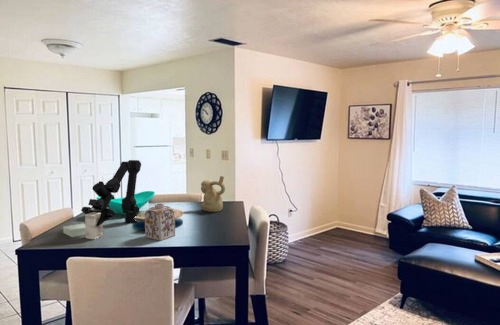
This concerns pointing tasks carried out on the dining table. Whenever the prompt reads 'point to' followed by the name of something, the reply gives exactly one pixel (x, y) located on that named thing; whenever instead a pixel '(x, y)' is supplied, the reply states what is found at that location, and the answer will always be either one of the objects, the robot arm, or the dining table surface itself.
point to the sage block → (75, 230)
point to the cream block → (93, 225)
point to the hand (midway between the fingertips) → (91, 225)
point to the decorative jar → (159, 222)
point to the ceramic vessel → (212, 195)
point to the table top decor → (139, 197)
